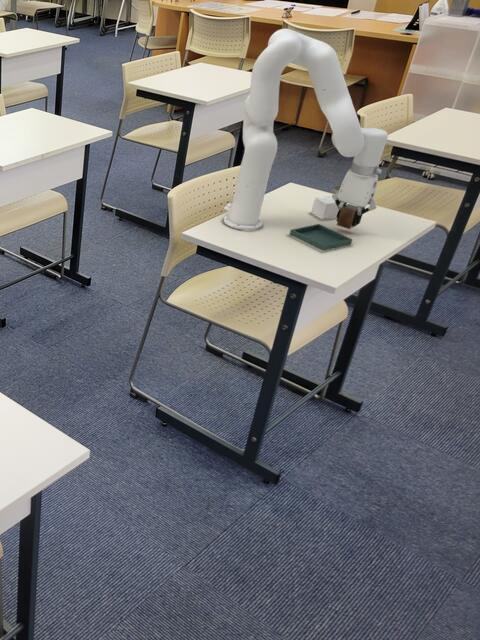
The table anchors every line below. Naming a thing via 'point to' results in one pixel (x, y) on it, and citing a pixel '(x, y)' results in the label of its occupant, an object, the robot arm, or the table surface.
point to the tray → (320, 237)
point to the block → (347, 216)
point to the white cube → (325, 208)
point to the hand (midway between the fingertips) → (347, 222)
